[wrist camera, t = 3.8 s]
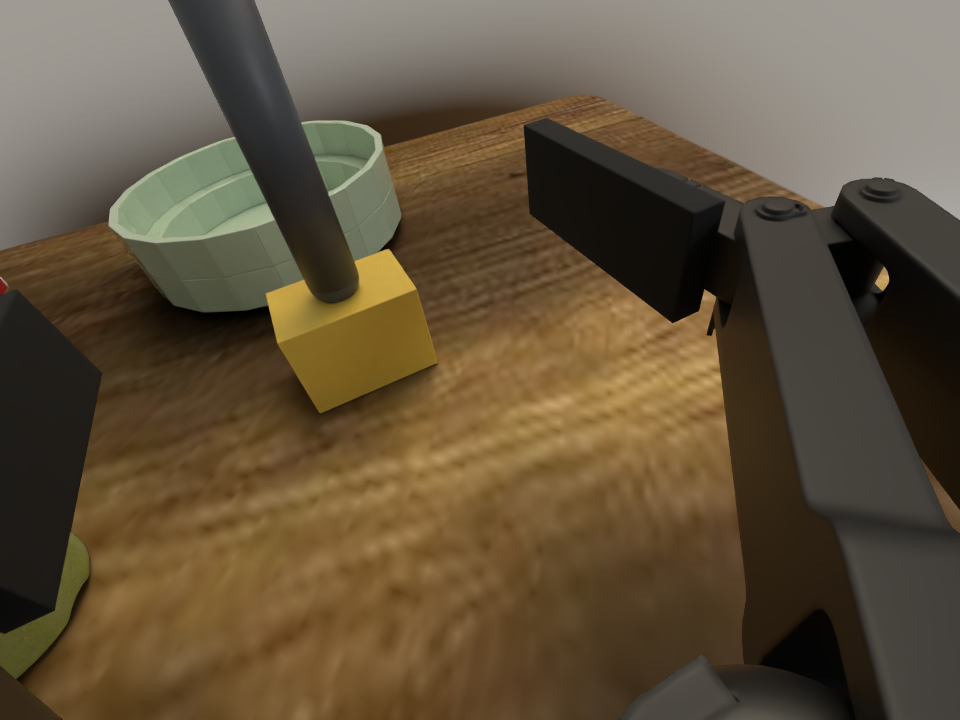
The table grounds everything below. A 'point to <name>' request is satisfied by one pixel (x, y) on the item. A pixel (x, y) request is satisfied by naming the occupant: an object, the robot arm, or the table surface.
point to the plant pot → (38, 635)
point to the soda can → (4, 287)
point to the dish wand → (307, 223)
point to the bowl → (247, 218)
